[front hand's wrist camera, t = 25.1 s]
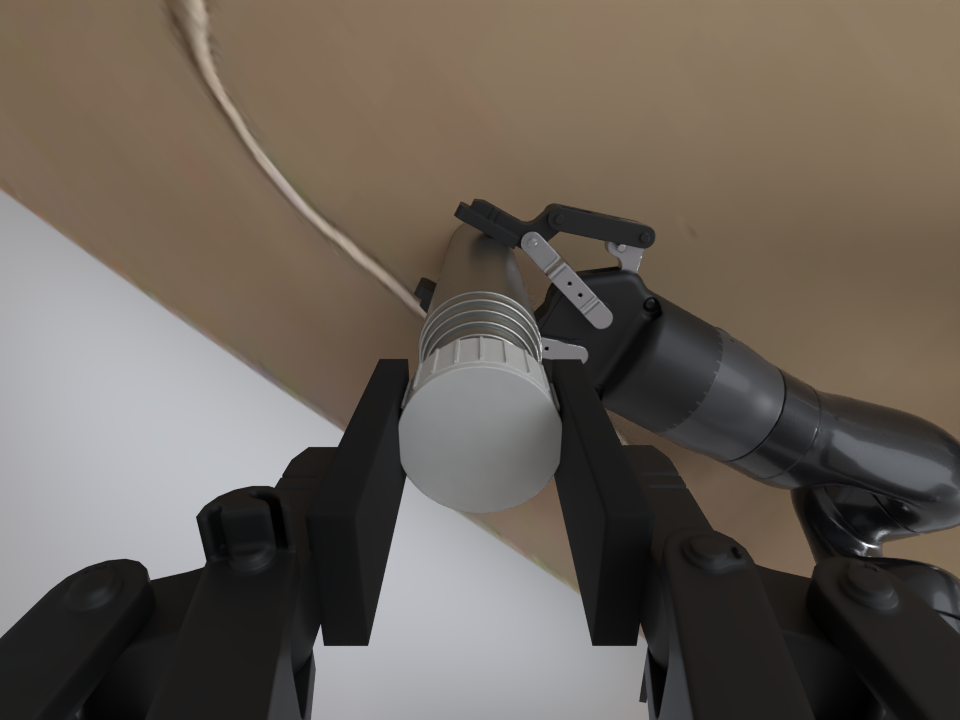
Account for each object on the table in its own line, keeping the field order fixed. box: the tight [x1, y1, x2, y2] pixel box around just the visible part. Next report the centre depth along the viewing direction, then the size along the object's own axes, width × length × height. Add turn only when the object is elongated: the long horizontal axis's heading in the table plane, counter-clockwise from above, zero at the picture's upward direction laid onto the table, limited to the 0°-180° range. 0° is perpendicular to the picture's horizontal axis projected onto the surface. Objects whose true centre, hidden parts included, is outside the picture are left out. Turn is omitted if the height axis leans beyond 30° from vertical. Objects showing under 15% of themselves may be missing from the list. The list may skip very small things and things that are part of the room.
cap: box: [398, 337, 562, 513], centre depth 14 cm, size 4×4×2 cm
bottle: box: [419, 223, 542, 365], centre depth 25 cm, size 4×4×25 cm
